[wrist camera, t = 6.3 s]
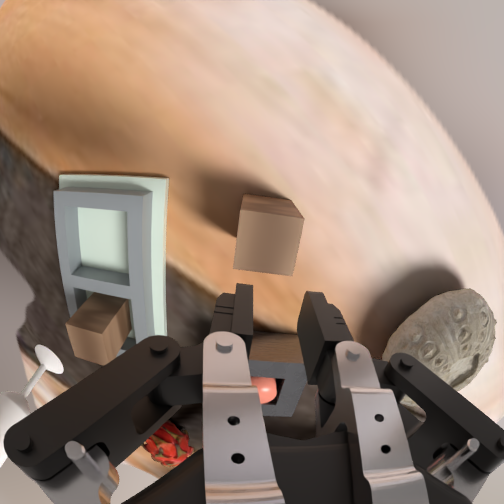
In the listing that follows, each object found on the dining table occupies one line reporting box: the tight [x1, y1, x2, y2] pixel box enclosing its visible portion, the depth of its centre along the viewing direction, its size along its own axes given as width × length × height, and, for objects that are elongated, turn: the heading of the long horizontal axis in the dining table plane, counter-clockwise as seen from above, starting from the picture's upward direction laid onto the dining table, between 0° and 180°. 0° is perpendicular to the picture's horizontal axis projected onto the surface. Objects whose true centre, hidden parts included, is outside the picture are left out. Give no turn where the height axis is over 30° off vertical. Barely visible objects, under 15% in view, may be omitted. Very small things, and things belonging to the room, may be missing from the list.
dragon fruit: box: [142, 420, 195, 467], centre depth 36 cm, size 8×8×12 cm
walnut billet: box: [233, 194, 304, 276], centre depth 23 cm, size 4×4×7 cm
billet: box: [65, 292, 132, 365], centre depth 26 cm, size 4×4×7 cm
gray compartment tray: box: [54, 174, 169, 357], centre depth 27 cm, size 13×22×4 cm, turn 172°
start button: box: [250, 376, 277, 404], centre depth 30 cm, size 4×4×4 cm
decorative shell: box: [382, 289, 497, 407], centre depth 27 cm, size 18×18×10 cm
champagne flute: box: [0, 345, 63, 467], centre depth 24 cm, size 7×7×24 cm
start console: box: [248, 331, 307, 417], centre depth 31 cm, size 10×10×5 cm
